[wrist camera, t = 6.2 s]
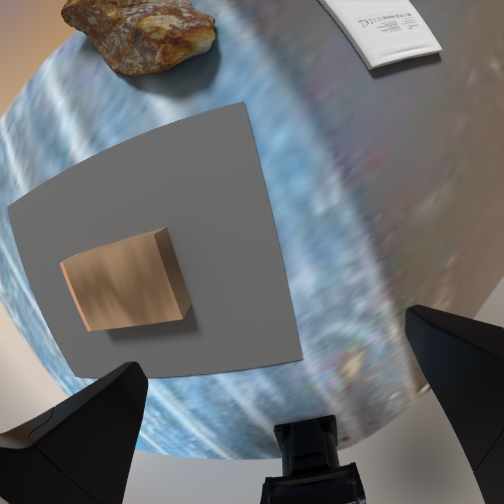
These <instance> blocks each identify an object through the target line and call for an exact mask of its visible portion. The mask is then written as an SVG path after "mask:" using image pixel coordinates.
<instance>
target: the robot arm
mask: <svg viewBox="0 0 504 504" xmlns="http://www.w3.org/2000/svg"><path fill="white" fill-rule="evenodd" d="M405 333H406V337H407V339H408V341H409V343H410V345H411V347H412V350H413V352H414V354H415V356H416V359H417V361H418V363H419V366H420V368H421V370H422V372H423V374H424V376H425V378H426V379H427V381H428V383H429V384H430V386H431V388H432V390H433V392H434V393H435V395H436V397H437V399H438V401H439V402H440V404H441V406H442V408H443V410H444V412H445V414H446V416H447V418H448V419H449V421H450V423H451V425H452V427H453V429H454V431H455V433H456V435H457V438H458V440H459V441H460V444H461V446H462V448H463V450H464V452H465V455H466V457H467V459H468V461H469V464H470V466H471V468H472V470H473V471H474V472H473V473H474V476H475V478H476V480H477V483H478V486H479V488H480V491H481V493H482V496H483V499H484V502H485V504H504V329H503V327H500V326H496V325H492V324H488V323H485V322H481V321H477V320H473V319H470V318H466V317H462V316H459V315H455V314H451V313H447V312H444V311H440V310H436V309H433V308H429V307H425V306H422V305H414V306H411V307H408V308H407V309H406V313H405ZM147 391H148V379H147V377H146V375H145V373H144V372H143V370H142V368H141V366H140V364H139V363H138V362H136V361H130V362H125V363H124V364H122V365H121V366H119V367H117V368H116V369H114V370H113V371H111V372H110V373H108V374H106V375H105V376H103V377H102V378H100V379H98V380H97V381H95V382H94V383H92V384H90V385H89V386H87V387H86V388H84V389H82V390H81V391H79V392H77V393H76V394H74V395H72V396H71V397H69V398H68V399H66V400H64V401H63V402H61V403H59V404H58V405H56V406H55V407H53V408H51V409H49V410H48V411H46V412H44V413H42V414H41V415H39V416H37V417H36V418H33V419H31V420H29V421H28V422H25V423H23V424H22V425H20V426H17V427H16V428H13V429H11V430H9V431H7V432H4V433H1V434H0V504H122V502H123V497H124V493H125V487H126V484H127V479H128V475H129V471H130V466H131V462H132V458H133V454H134V450H135V446H136V442H137V439H138V435H139V431H140V427H141V424H142V420H143V414H144V408H145V402H146V396H147ZM274 433H275V436H276V438H277V441H278V444H279V447H280V449H281V452H282V466H283V476H282V477H266V478H265V483H264V484H263V488H262V497H261V502H260V504H366V497H365V492H364V489H363V485H362V482H361V479H360V476H359V473H358V469H357V466H356V463H355V462H354V463H350V464H349V465H345V466H340V465H339V459H338V454H337V449H336V446H337V445H338V444H337V427H336V417H335V416H334V415H329V416H325V417H320V418H315V419H310V420H305V421H299V422H294V423H287V424H281V425H276V426H274Z"/></svg>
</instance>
